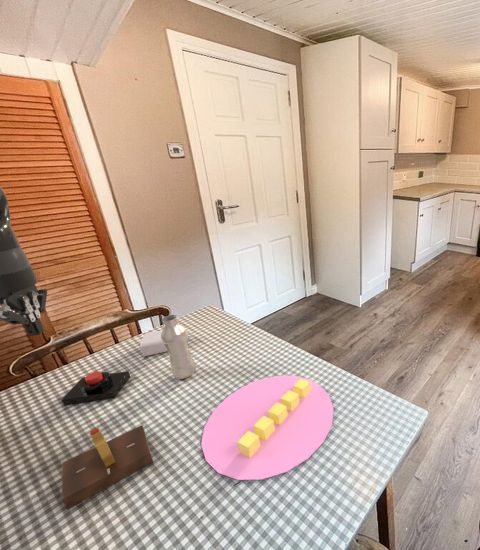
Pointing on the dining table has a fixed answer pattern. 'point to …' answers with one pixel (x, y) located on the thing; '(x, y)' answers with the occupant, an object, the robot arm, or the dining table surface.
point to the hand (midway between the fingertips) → (37, 333)
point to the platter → (267, 427)
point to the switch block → (97, 389)
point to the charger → (154, 343)
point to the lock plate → (95, 476)
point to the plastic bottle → (177, 347)
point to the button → (93, 378)
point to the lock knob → (102, 447)
